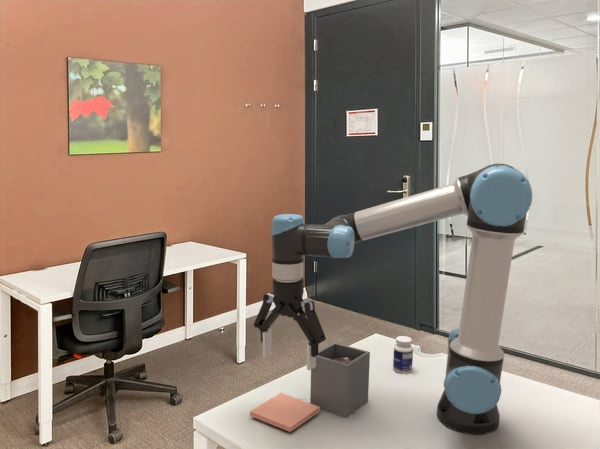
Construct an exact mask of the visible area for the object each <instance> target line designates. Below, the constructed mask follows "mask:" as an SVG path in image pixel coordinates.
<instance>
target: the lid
mask: <svg viewBox="0 0 600 449" xmlns="http://www.w3.org/2000/svg"><path fill="white" fill-rule="evenodd" d="M320 412H321V409H320V407H319V406H316V405H313V404H311V403H310V402H307V401H305V400H302V399H300V398H296V397H294V396H292V395H288V394H286V393H282V392H280V393H278V394H277V395H275V396H273V397H271V398H269V399H268V400H266V401H265V402H263V403H262V404H260V405H258V406H257V407H254V408H253V409H252V410H250V411H249V416H250V417H251V418H252V417H253V418H255V419H258V420H260V421H262V422H264V423H267V424H270V425H272V426H274V427H277V428H280V429H282V430H285V431H286V432H289V433H291V432H293V431H294V430H296V428H298V427H300V426H301V425H303V424H304V423H305V422H307V421H308V420H310V419H311V418H313V417H314V416H316V415H317V414H318V413H320Z"/></svg>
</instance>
